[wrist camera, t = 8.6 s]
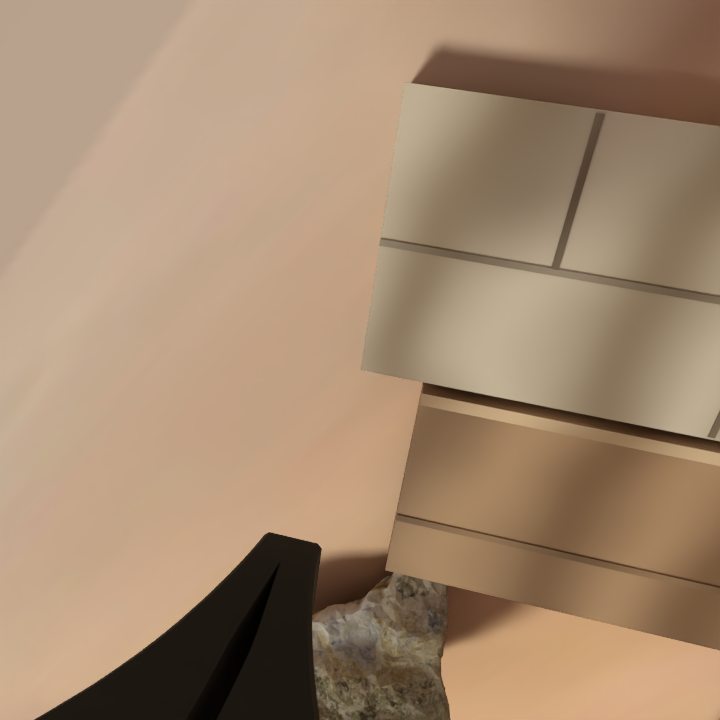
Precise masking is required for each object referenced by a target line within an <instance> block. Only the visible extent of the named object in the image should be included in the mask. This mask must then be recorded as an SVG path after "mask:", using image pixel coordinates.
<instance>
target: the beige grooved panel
mask: <svg viewBox="0 0 720 720" xmlns="http://www.w3.org/2000/svg"><path fill="white" fill-rule="evenodd" d="M361 370H364V371H369V372H374V373H379V374H384V375H389V376H394V377H399V378H404V379H409V380H414V381H419V382H424V383H429V384H434V385H439V386H444V387H449V388H454V389H459V390H464V391H469V392H474V393H479V394H484V395H489V396H494V397H500V398H505V399H510V400H515V401H520V402H525V403H530V404H535V405H540V406H545V407H550V408H555V409H560V410H565V411H570V412H575V413H580V414H585V415H590V416H595V417H600V418H605V419H610V420H615V421H620V422H625V423H630V424H635V425H640V426H645V427H650V428H655V429H660V430H665V431H670V432H675V433H680V434H685V435H690V436H695V437H700V438H705V439H710V440H715V441H720V126H715V125H708V124H701V123H694V122H686V121H679V120H672V119H665V118H658V117H651V116H643V115H636V114H629V113H622V112H615V111H608V110H600V109H593V108H586V107H579V106H572V105H564V104H557V103H550V102H543V101H536V100H529V99H521V98H514V97H507V96H500V95H493V94H486V93H478V92H471V91H464V90H457V89H450V88H443V87H435V86H428V85H421V84H414V83H407V82H404V88H403V95H402V101H401V108H400V115H399V121H398V128H397V134H396V141H395V148H394V154H393V161H392V167H391V174H390V180H389V187H388V194H387V200H386V207H385V213H384V220H383V227H382V233H381V239H380V245H379V253H378V260H377V266H376V273H375V279H374V286H373V293H372V299H371V306H370V312H369V319H368V325H367V332H366V339H365V345H364V352H363V358H362V365H361Z"/></svg>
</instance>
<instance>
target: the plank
mask: <svg viewBox="0 0 720 720" xmlns="http://www.w3.org/2000/svg"><path fill="white" fill-rule="evenodd" d="M385 570H386V571H390V572H394V573H399V574H403V575H407V576H411V577H415V578H420V579H424V580H428V581H432V582H436V583H441V584H445V585H449V586H453V587H457V588H461V589H466V590H470V591H474V592H478V593H482V594H487V595H491V596H495V597H499V598H503V599H507V600H512V601H516V602H520V603H524V604H528V605H533V606H537V607H541V608H545V609H549V610H554V611H558V612H562V613H566V614H570V615H574V616H579V617H583V618H587V619H591V620H595V621H600V622H604V623H608V624H612V625H616V626H621V627H625V628H629V629H633V630H637V631H641V632H646V633H650V634H654V635H658V636H662V637H667V638H671V639H675V640H679V641H683V642H688V643H692V644H696V645H700V646H704V647H708V648H713V649H717V650H720V441H715V440H710V439H705V438H700V437H695V436H690V435H685V434H680V433H675V432H670V431H665V430H660V429H655V428H650V427H645V426H640V425H635V424H630V423H625V422H620V421H615V420H610V419H605V418H600V417H595V416H590V415H585V414H580V413H575V412H570V411H565V410H560V409H555V408H550V407H545V406H540V405H535V404H530V403H525V402H520V401H515V400H510V399H505V398H500V397H494V396H489V395H484V394H479V393H474V392H469V391H464V390H459V389H454V388H449V387H444V386H439V385H434V384H429V383H424V382H423V386H422V391H421V396H420V401H419V405H418V410H417V415H416V420H415V425H414V430H413V434H412V439H411V444H410V449H409V454H408V459H407V463H406V468H405V473H404V478H403V483H402V488H401V492H400V497H399V502H398V507H397V512H396V517H395V521H394V526H393V531H392V536H391V541H390V546H389V551H388V557H387V562H386V568H385Z"/></svg>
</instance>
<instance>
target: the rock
mask: <svg viewBox="0 0 720 720" xmlns="http://www.w3.org/2000/svg"><path fill="white" fill-rule="evenodd" d="M446 588H447V585H445V584H441V583H436V582H432V581H428V580H424V579H420V578H415V577H411V576H407V575H403V574H399V573H394V572H393V574H392V575H391V576H386V577H385V578H384V579H382V580H381V581H380V582H379V583H377V584H376V586H375V587H374V588H372V589H371V590H370V591H369V592H368V594H367V595H366V596H365V597H364V598H362V599H356V600H355V601H351V602H348V603H346V604H334V605H331V606H327V607H326V608H325V609H324V610H322V611H317V612H316V613H314V614H313V615H312V641H313V661H314V674H315V685H316V694H317V703H318V711H319V718H320V720H450V712H449V703H448V700H447V696H446V693H445V687H444V685H443V681H442V677H441V657H442V656H443V649H444V644H445V640H446V632H447V627H448V601H447V597H446Z"/></svg>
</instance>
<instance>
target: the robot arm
mask: <svg viewBox="0 0 720 720" xmlns="http://www.w3.org/2000/svg"><path fill="white" fill-rule="evenodd" d="M320 557H321V547H320V546H319V545H318V544H317V543H312V542H308V541H304V540H300V539H296V538H291V537H287V536H283V535H279V534H274V533H270V532H269V533H267V534H265V535H264V536H263V537H262V539H261V540H260V541H259V542H258V543H257V545H256V546H255V547H254V548H253V549H252V550H251V551H250V553H249V554H248V555H247V556H246V557H245V558H244V559H243V560H242V561H241V562H240V563H239V565H238V566H237V567H236V568H235V569H234V570H233V571H232V572H231V573H230V574H229V575H228V576H227V577H226V578H225V579H224V580H223V581H222V582H221V583H220V584H219V585H218V586H217V587H216V588H215V589H214V590H213V591H212V592H211V593H210V594H208V595H207V596H206V597H205V598H204V599H203V600H202V601H201V602H200V603H199V604H197V605H196V606H195V607H194V608H193V609H192V610H191V611H190V612H188V613H187V614H186V615H185V616H184V617H183V618H182V619H181V620H179V621H178V622H177V623H176V624H175V625H174V626H172V627H171V628H170V629H169V630H167V631H166V632H165V633H164V634H162V635H161V636H160V637H159V638H157V639H156V640H155V641H154V642H152V643H151V644H150V645H148V646H147V647H146V648H144V649H143V650H142V651H140V652H139V653H138V654H136V655H135V656H134V657H132V658H131V659H129V660H128V661H127V662H125V663H124V664H122V665H121V666H119V667H118V668H117V669H115V670H114V671H112V672H111V673H109V674H108V675H106V676H105V677H103V678H102V679H100V680H99V681H97V682H96V683H94V684H93V685H91V686H90V687H88V688H87V689H85V690H83V691H82V692H80V693H78V694H77V695H75V696H73V697H72V698H70V699H68V700H67V701H65V702H63V703H62V704H60V705H58V706H57V707H55V708H53V709H52V710H50V711H48V712H47V713H45V714H43V715H42V716H40V717H38V718H36V719H35V720H320V718H319V711H318V703H317V694H316V685H315V674H314V661H313V641H312V609H313V605H314V600H315V592H316V585H317V578H318V571H319V564H320Z"/></svg>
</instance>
